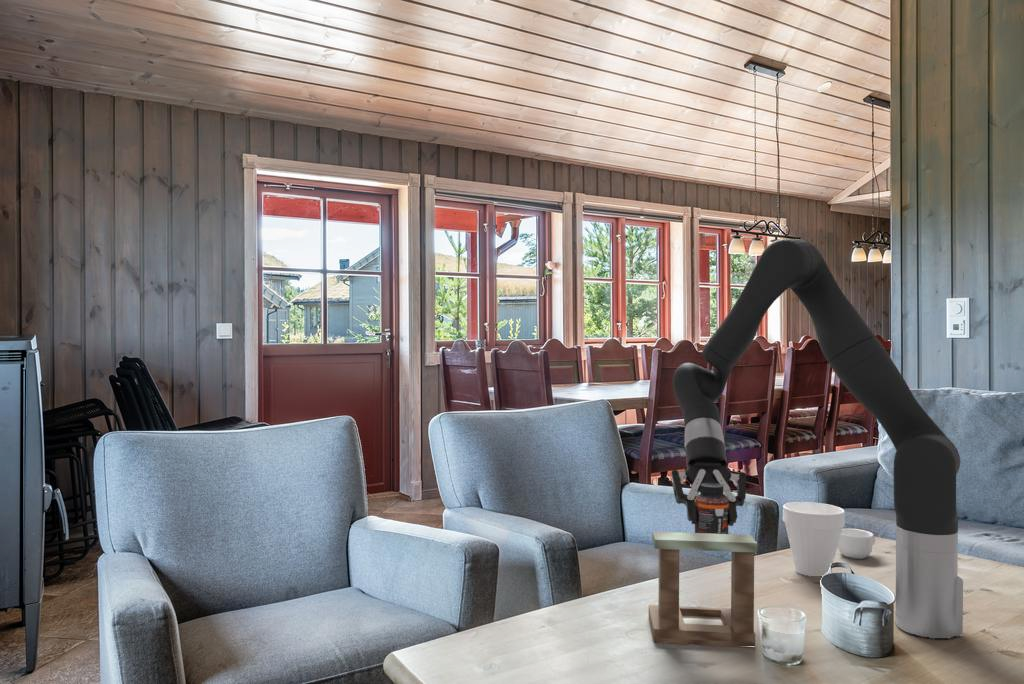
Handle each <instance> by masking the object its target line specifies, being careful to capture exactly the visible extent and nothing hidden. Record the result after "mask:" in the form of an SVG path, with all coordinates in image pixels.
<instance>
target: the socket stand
mask: <svg viewBox="0 0 1024 684" xmlns="http://www.w3.org/2000/svg"><path fill="white" fill-rule="evenodd" d="M651 541H652V545H653V547H654V549H655V550H658V605H657V604H648V621H649V627H650V631H651V636H652V641H653V643H655V644H656V643H657V644H673V645H674V644H675V645H677V644H678V645H694V646H695V645H696V646H697V645H699V646H716V647H732V646H733V647H734V646H740V647H739V648H742V647H741V646H755V647H756V633H755V631H754V629H755V625H754V624H755V553H758V542H757V541H756V540H755V539H754V537H753V536H752V535H751V534H741V533H740V534H734V533H733V534H732V533H730V534H729V533H728V534H711V533H695V532H675V531H674V532H673V531H652V538H651ZM681 550H682V551H701V552H703V551H706V552H730V553H731V558H730V559H731V566H730V567H731V569H730V571H731V573H730V575H731V577H730V581H731V582H730V584H731V585H730V591H731V592H730V598H731V599H730V602H731V603H730V608H726V607H708V606H707V607H705V606H703V607H701V606H685V605H683V606H681V605H680V551H681ZM734 648H735V647H734Z"/></svg>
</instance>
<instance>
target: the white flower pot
mask: <svg viewBox="0 0 1024 684" xmlns="http://www.w3.org/2000/svg"><path fill="white" fill-rule="evenodd" d="M782 510H783V511H782V521H783V522H784V525H785V528H786V535H787V537H788V541H789V542H788V543H789V545H790V551H791V555H792V561H793V563H794V570H795V572H796V573H798V574H800V575H802V574H803V575H802V576H806V575H808V576H807V577H811V576H822V575H824V574H825V573H826V572H828V570H829V567H830V564H831V563H833V564H834V561H835V557H836V554H837V550H838V542H839V539H840V535H841V531H842V529H843V528H844V527H845V526H846V521H845V519H846V518H845V510H844V509H843V508H842V507H839V506H836V505H833V504H827V503H823V502H822V503H821V502H814V501H813V502H812V501H794V502H787V503H784V504H783V505H782Z"/></svg>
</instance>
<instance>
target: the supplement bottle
mask: <svg viewBox="0 0 1024 684" xmlns="http://www.w3.org/2000/svg"><path fill="white" fill-rule="evenodd" d="M700 490H701V492H702V493H701V494H700V493H699V494H698V496H697V497H696V499H695V506H696V524H694V533H711V534H729V524H728V518H729V501H728V499H727V498H726V497H725V496H724V494H723V492H724V491H723V485H722V484H718V483H702V484H701V489H700Z"/></svg>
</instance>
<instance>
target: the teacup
mask: <svg viewBox="0 0 1024 684" xmlns="http://www.w3.org/2000/svg"><path fill="white" fill-rule="evenodd" d="M875 542H876V538H875V536H874V533H872V532H871V531H868V530H863V529H858V528H842V531H841V535H840V539H839V542H838V546H837V550H838V551H839V552H840V554H841V555H843V556H844V557H846V558H849V559H853V560H856V559H857V560H863V559H866V558H867V557H869V556H871V553H872V552H873V551H872V550H873V547H874V544H875Z"/></svg>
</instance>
